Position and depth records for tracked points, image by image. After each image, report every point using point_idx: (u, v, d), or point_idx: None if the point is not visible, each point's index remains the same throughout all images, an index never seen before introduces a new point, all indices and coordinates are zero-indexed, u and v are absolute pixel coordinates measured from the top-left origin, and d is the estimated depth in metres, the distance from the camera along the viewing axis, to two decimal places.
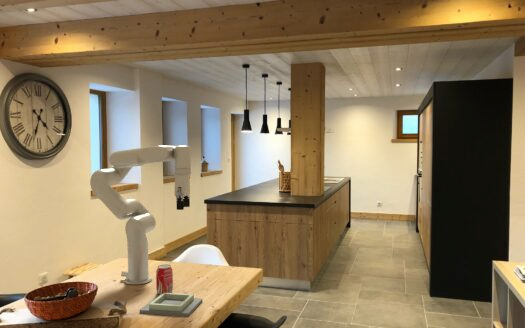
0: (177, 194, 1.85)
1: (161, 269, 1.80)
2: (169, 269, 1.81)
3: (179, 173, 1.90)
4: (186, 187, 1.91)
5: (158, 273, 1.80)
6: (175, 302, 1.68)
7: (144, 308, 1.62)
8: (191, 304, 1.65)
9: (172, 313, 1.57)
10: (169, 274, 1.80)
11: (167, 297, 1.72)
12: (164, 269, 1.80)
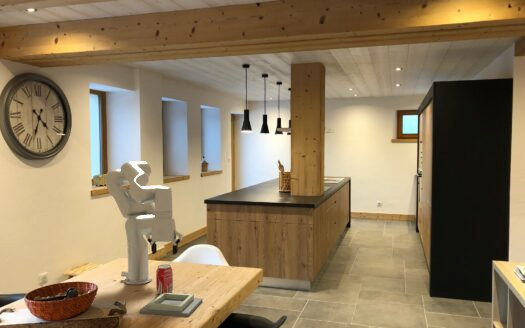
0: (182, 237, 1.80)
1: (161, 269, 1.80)
2: (169, 269, 1.81)
3: (171, 216, 1.80)
4: None
5: (158, 273, 1.80)
6: (175, 302, 1.68)
7: (144, 308, 1.62)
8: (191, 304, 1.65)
9: (172, 313, 1.57)
10: (169, 274, 1.80)
11: (167, 297, 1.72)
12: (164, 269, 1.80)
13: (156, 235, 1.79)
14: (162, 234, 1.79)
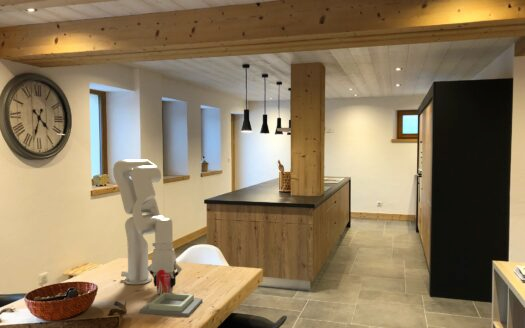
0: (180, 271, 1.81)
1: None
2: None
3: (171, 247, 1.81)
4: None
5: (158, 273, 1.80)
6: (175, 302, 1.68)
7: (144, 308, 1.62)
8: (191, 304, 1.65)
9: (172, 313, 1.57)
10: (169, 274, 1.80)
11: (167, 297, 1.72)
12: None
13: (156, 266, 1.80)
14: (163, 265, 1.79)
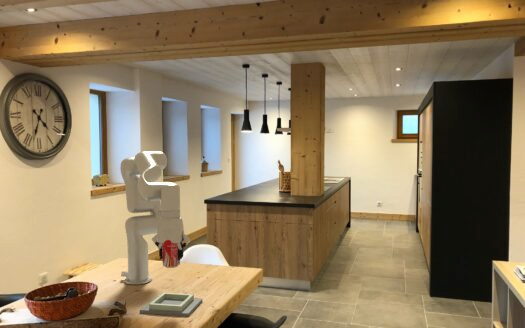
0: (189, 241, 1.64)
1: None
2: None
3: (178, 216, 1.64)
4: None
5: (164, 244, 1.63)
6: (175, 302, 1.68)
7: (144, 308, 1.62)
8: (191, 304, 1.65)
9: (172, 313, 1.57)
10: (176, 245, 1.63)
11: (167, 297, 1.72)
12: None
13: (162, 236, 1.63)
14: (169, 235, 1.63)
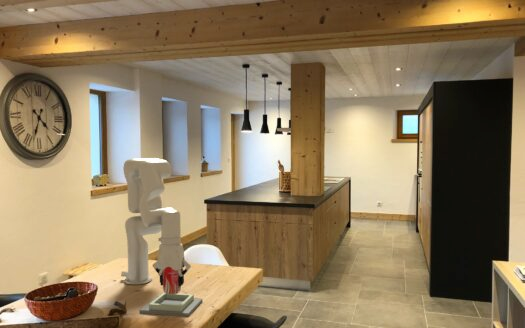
0: (189, 268, 1.64)
1: None
2: None
3: (179, 242, 1.64)
4: None
5: (165, 271, 1.63)
6: (175, 302, 1.68)
7: (144, 308, 1.62)
8: (191, 304, 1.65)
9: (172, 313, 1.57)
10: (177, 272, 1.63)
11: (167, 297, 1.72)
12: None
13: (163, 263, 1.63)
14: (170, 262, 1.63)
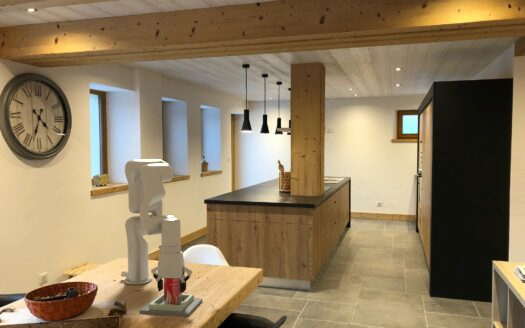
0: (191, 273, 1.64)
1: (169, 278, 1.63)
2: None
3: (179, 250, 1.64)
4: None
5: (166, 282, 1.63)
6: None
7: (144, 308, 1.62)
8: (191, 304, 1.65)
9: (172, 313, 1.57)
10: (178, 283, 1.64)
11: None
12: None
13: (163, 271, 1.63)
14: (170, 270, 1.63)
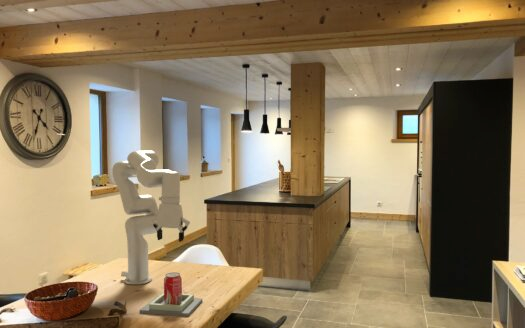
0: None
1: (169, 278, 1.63)
2: (178, 278, 1.64)
3: (178, 202, 1.74)
4: None
5: (166, 282, 1.63)
6: None
7: (144, 308, 1.62)
8: (191, 304, 1.65)
9: (172, 313, 1.57)
10: (178, 283, 1.64)
11: None
12: (173, 278, 1.63)
13: (162, 221, 1.73)
14: (169, 220, 1.73)
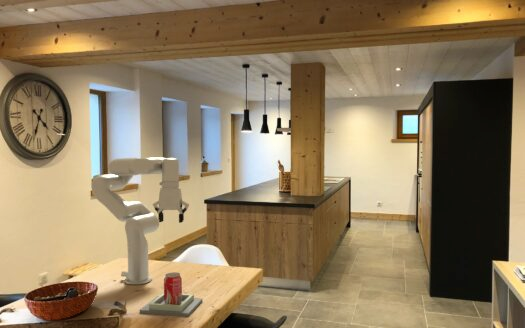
0: (188, 206, 1.88)
1: (169, 278, 1.63)
2: (178, 278, 1.64)
3: (177, 186, 1.88)
4: None
5: (166, 282, 1.63)
6: None
7: (144, 308, 1.62)
8: (191, 304, 1.65)
9: (172, 313, 1.57)
10: (178, 283, 1.64)
11: None
12: (173, 278, 1.63)
13: (163, 204, 1.87)
14: (169, 203, 1.87)
